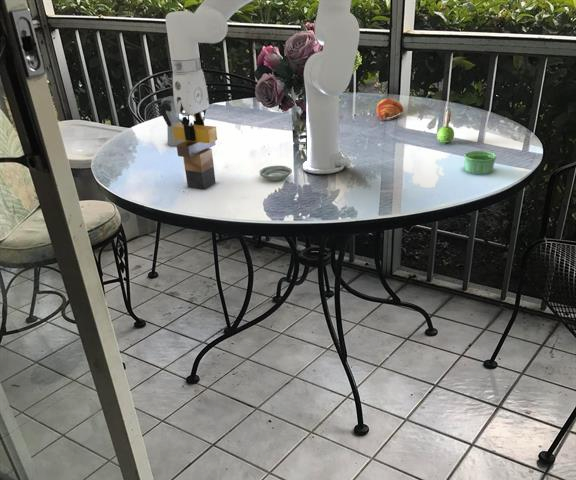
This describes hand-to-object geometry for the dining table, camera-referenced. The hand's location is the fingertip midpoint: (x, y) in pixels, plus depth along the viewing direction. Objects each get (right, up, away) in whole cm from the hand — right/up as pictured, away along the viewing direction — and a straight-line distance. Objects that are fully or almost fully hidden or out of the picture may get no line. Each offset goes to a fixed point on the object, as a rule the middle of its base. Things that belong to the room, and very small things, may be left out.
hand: (195, 137), depth 172 cm
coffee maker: (-13, +15, +44) cm, 49 cm away
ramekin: (+82, -7, +8) cm, 83 cm away
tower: (+1, -11, +8) cm, 14 cm away
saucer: (+23, -9, +10) cm, 26 cm away
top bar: (0, 0, 0) cm, 1 cm away
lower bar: (0, -3, +2) cm, 4 cm away
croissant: (+65, +33, +62) cm, 96 cm away
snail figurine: (+78, +10, +31) cm, 85 cm away
